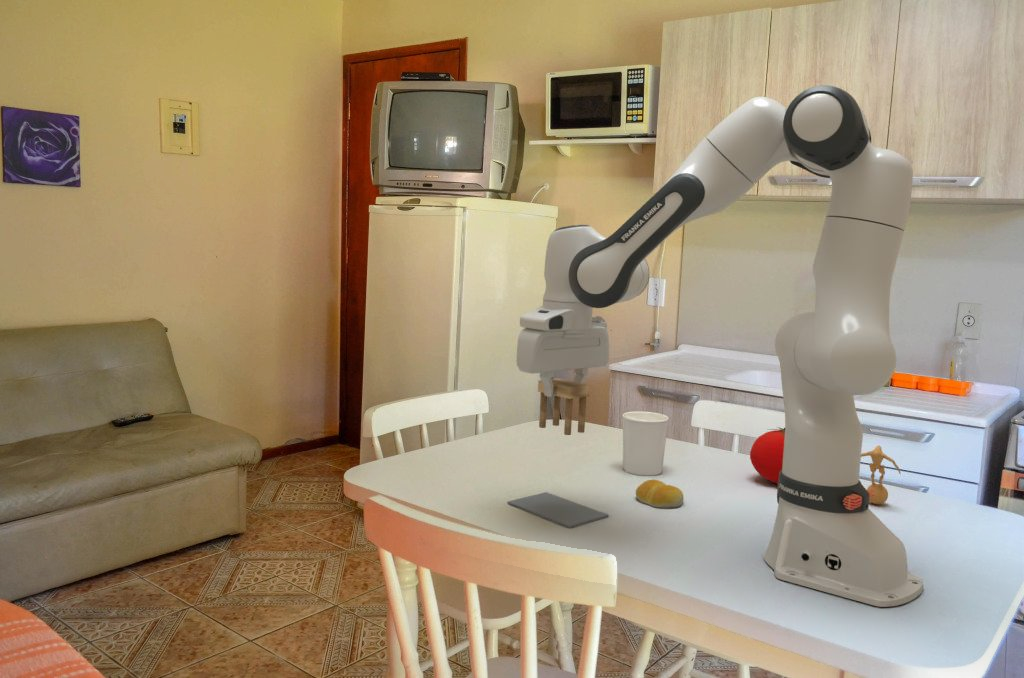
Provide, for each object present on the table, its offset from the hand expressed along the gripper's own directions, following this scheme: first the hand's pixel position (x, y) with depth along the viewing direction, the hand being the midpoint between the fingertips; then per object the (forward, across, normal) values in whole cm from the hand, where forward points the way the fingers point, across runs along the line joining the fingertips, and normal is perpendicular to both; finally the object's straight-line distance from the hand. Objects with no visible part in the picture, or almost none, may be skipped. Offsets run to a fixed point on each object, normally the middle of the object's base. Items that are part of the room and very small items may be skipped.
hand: (563, 394), depth 147 cm
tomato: (+21, -52, +15) cm, 58 cm away
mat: (+21, 0, 0) cm, 21 cm away
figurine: (+21, -53, +34) cm, 66 cm away
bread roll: (+22, -20, +8) cm, 30 cm away
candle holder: (+21, -34, -8) cm, 41 cm away
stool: (+6, 0, 0) cm, 6 cm away
